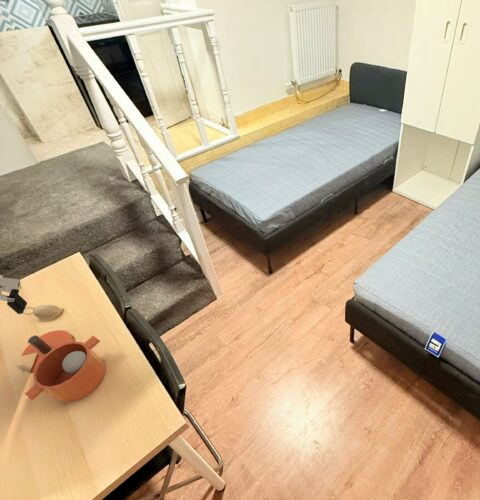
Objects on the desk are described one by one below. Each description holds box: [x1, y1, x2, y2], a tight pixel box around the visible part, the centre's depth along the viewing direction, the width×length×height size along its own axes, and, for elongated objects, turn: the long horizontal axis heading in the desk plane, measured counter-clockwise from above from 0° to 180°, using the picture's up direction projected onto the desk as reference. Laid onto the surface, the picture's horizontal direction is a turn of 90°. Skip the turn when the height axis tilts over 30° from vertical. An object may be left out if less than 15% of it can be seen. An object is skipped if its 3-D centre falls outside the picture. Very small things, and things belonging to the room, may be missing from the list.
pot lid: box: [21, 329, 74, 374], centre depth 93 cm, size 13×13×7 cm
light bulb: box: [62, 351, 87, 376], centre depth 86 cm, size 6×5×10 cm
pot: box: [24, 335, 106, 403], centre depth 86 cm, size 12×18×8 cm
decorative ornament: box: [22, 304, 64, 322], centre depth 102 cm, size 4×8×5 cm, turn 99°
